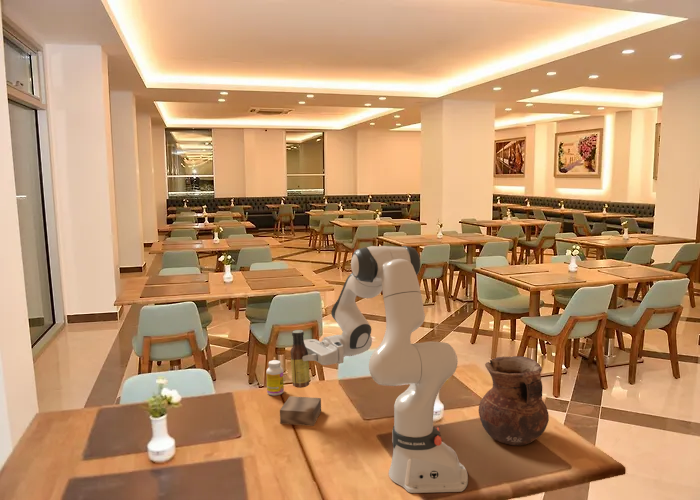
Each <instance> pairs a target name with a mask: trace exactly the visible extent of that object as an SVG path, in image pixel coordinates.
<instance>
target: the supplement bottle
mask: <svg viewBox="0 0 700 500" xmlns="http://www.w3.org/2000/svg"><path fill="white" fill-rule="evenodd" d="M265 374H266V393H267V395H270V396H280V395H282V394H283V393H284V392H285V391H284V387H285V385H284V369H283V367H281V361H280V360H277V359H274V360H273V359H272V360H269V361H268V367H267V369H266V373H265Z"/></svg>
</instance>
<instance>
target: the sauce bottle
mask: <svg viewBox="0 0 700 500" xmlns="http://www.w3.org/2000/svg"><path fill="white" fill-rule="evenodd" d="M291 334H292V335H291V336H292V340H293V341H292V347H291V349H290V366H291V382H292V386H293V387H294V388H297V389H299V388H300V389H302V388H303V389H304V388H306V387H308V386H309V385H310V379H311V378H310V364H309V363H310V361H303V360H302V359H301V356H302V355H308V352H307V349H306V346H305V344H304V340H305V338H304V335H305V333H304V330H302V329H295V330H293V331H292V332H291Z"/></svg>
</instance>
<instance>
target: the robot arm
mask: <svg viewBox="0 0 700 500" xmlns="http://www.w3.org/2000/svg"><path fill="white" fill-rule="evenodd" d="M350 259H351V261H350V269H351V272H352V273H350V274H349V275H348V276H347V278H346V280H345V282H344V284H343V286H342V288H341V291H340V293H339V296H338V299H337V300H336V301H335V303H334V305H333V306H332V309H331V317H332V318H333V320H334V321H335V322H336V323H337V324H338V327H339V328H340V329H341V331H342V333H341V334H335V335H328V336H324V337H323V338H322V340H321V341H320V340H318V339H314V338H310V339H309V338H308V339H304V344H305V346H306V349H307V352H308V355H302V356H301V359H302V360H303V361H309V362H313V361H315V362H317V363H318V364H320V365H322V366H329V365H330V366H331V365H335V364H338V365H339V364H343V363H344V358H346V357H354V356H356V355H361V354H363V353H365V352H368V351H369V350H370V348H371V347H372V345H373V344H372V343H373V339H372V335H371V334H372V326H371V325H370V324H371V323H369V321H368V320H367V318H366V317H365V316H364V315H363V313H362V311H361V310H360V309H359V307H358V305H357V302H356V298H357V297H359V298H361V299H372V298H375V297H377V296H379V295H380V294H381V293H382V297H383V298H382V299H383V303H384V310H385V311H384V312H385V313H384V314H385V332H384V335H383V339H382V340H381V342H380V344H379V345H378V347H377V348H376V349H375V350H374V351H373V352H372V354H371V356H370V358H369V361H368V370H369V371H368V372H369V374H370V376H371V379H373V381H374V382H375V383H376V384H377V385H379V386H386V387H387V386H389V387H397V386H398V387H400V386H404V385H405V386H407V385H409V386H408V387H407V389H406V390H404V391H403V392H402V393H400V394H399V395H398V396H397V398H396V399H395V402H394V405H393V411H394V413H393V414H394V415H393V423H394V425H393V426H392V430H391V431H392V432H391V433H392V434H391V435H392V437H391V438H392V439H391V441H392V447H393V449H392V450H393V452H392V458H391V461H390V462H391V463H390V467H389V469H388V476H389V478H390V479H391V481H392V482H394V483H396V484H397V485H399V486H401V487H403V488H404V489H405V490H406V492H408V493H411V494H421V493H422V494H423V493H427V494H429V493H457V492H458V493H459V492H460V493H461V492H463V491H464V490H465V489H467V486H468V484H469V483H468V482H469V476H468V471H467V468H466V467H465V466H464V464H462V463H461V462H460V460H459V458H458V454H457V452H456V450H455V449H453V448H452V447H451V446H450V445H447V444H446V443H445V442H443V441H442V440H443V439H442V437H441V432H440V429H439V426H438V427H437V428H435V427H434V409H435V403H436V400H437V396H439V395H438V394H439V393H440V390H441V388H442V387H443V386H444V384H445V383H446V382H447V380H449V378H451V377H452V376H453V375H454V374H455V372H456V370H457V367H458V355H457V353H456V350H455V349H454V347H452V345H451V344H449V342H444V341H443V342H442V341H433V340H432V341H424V342H417V343H415V342H414V343H412V341H411V337H412V334H413V333H414V332H415V331H416V330H417V329H419V328H420V327H421V326H422V325H423V324H424V322H425V319H426V313H425V308H424V303H423V296H422V291H421V286H420V283H419V279H418V274H419V273H420V271H421V256H420V254H419V253H418V251H417V250H416V249H415V248H414V247H411V246H405V245H403V246H391V245H379V246H377V245H370V246H367V247H361V248H358V249H355V250H354V252H353V253H352V256H351V258H350Z"/></svg>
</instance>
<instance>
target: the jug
mask: <svg viewBox="0 0 700 500" xmlns="http://www.w3.org/2000/svg"><path fill="white" fill-rule="evenodd" d="M489 361H490V362H489ZM489 361H488V362H487V361H486V362H485V363H484V365H485V368H486V370H487V372H489V374H490V376H491V380H492V388H491V389H489V390H488V391H487V392H486V393H485V395H483V396H482V398H481V400H480V403H479V405H478V416H479V420H480V422H481V424H482V428H483V429H484V431H485V432H486V433H487V434H488V435H489V436H490V437H491V438H492V439H493V440H495V441H497V442H500V443H502V444H506V445H508V446H518V447H519V446H526V445H529V444H531V443H532V442H533V441H535V440H537V439H538V438H539V437H540V436H541V435H543V433H544V432H545V430H546V429H547V426H548V424H549V422H550V421H549V419H550V417H549V411H548V408H547V405H546V404H545V402H544V400H543V382H542V375H541V373H542V370H543V368H542V366H540V364H539V363H538V362H537V361H536V360H534V359H532V358H530V357H526V356H522V355H514V356H499V357H495V358H493V359H490V360H489Z"/></svg>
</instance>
